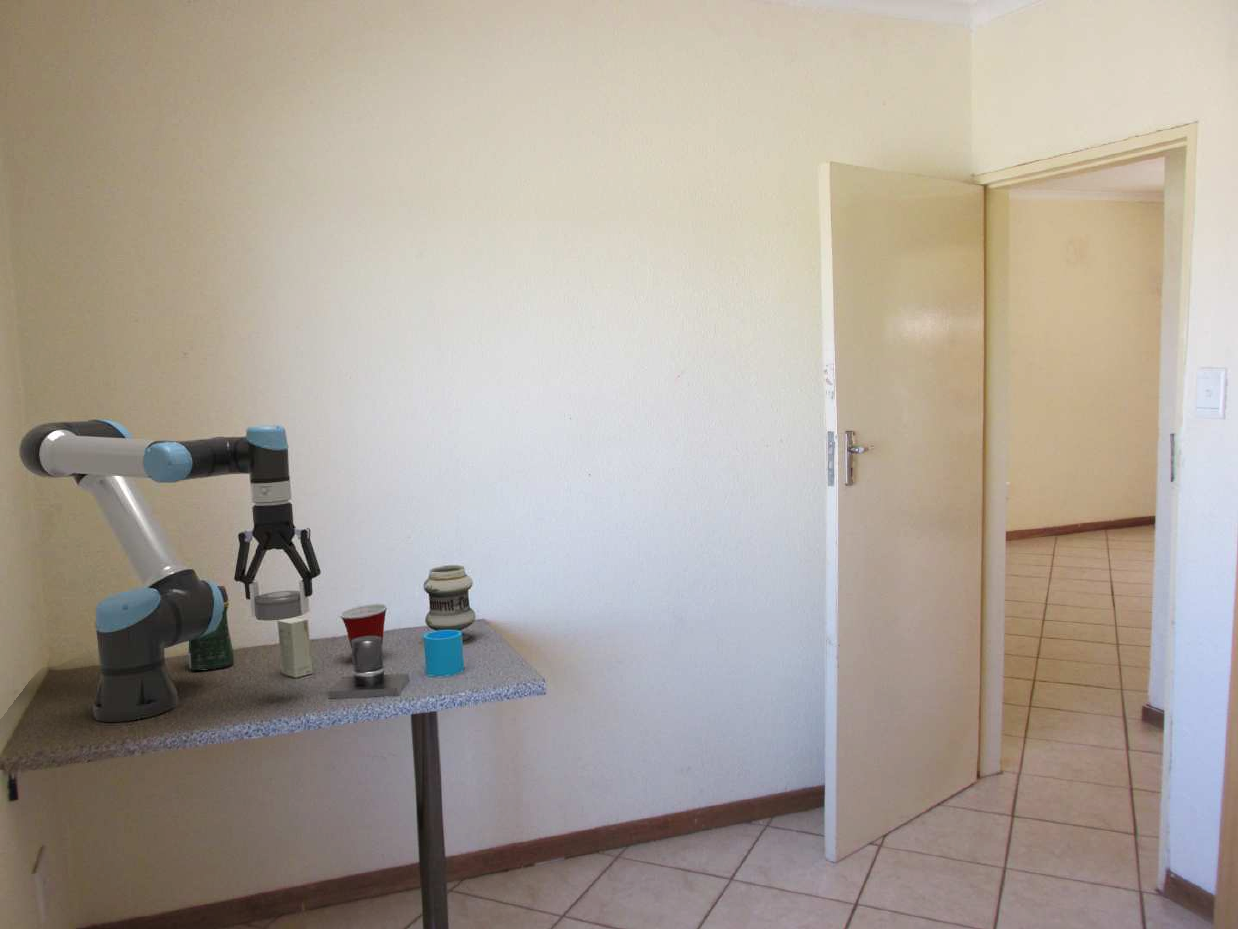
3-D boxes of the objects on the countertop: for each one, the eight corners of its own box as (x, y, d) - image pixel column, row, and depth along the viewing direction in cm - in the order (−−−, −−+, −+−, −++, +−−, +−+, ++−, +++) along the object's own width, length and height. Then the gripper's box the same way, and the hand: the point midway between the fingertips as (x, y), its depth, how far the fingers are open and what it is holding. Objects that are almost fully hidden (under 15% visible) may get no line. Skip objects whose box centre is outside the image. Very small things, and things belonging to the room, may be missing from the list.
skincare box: (313, 673, 215) (309, 619, 214) (295, 678, 212) (291, 623, 211) (299, 669, 219) (294, 615, 218) (280, 674, 216) (276, 619, 215)
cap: (249, 621, 192) (247, 600, 191) (266, 611, 201) (264, 591, 200) (296, 619, 191) (294, 598, 191) (310, 608, 201) (309, 588, 200)
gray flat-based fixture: (328, 698, 196) (324, 647, 195) (343, 683, 206) (339, 634, 205) (397, 695, 196) (394, 644, 195) (409, 680, 206) (406, 632, 205)
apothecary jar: (418, 647, 233) (413, 573, 232) (438, 634, 245) (434, 563, 244) (465, 648, 231) (461, 572, 229) (484, 634, 242) (479, 563, 241)
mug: (464, 674, 209) (462, 637, 208) (426, 678, 207) (423, 641, 207) (462, 660, 220) (460, 624, 220) (426, 663, 219) (423, 627, 218)
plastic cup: (338, 658, 227) (334, 607, 226) (384, 651, 231) (381, 601, 231) (347, 669, 217) (344, 616, 216) (396, 661, 222) (392, 609, 221)
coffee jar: (235, 659, 230) (229, 582, 229) (233, 668, 223) (226, 588, 221) (190, 665, 227) (184, 586, 226) (187, 674, 220) (180, 592, 218)
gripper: (209, 508, 191) (218, 621, 192) (321, 502, 191) (329, 615, 192) (224, 503, 198) (233, 612, 200) (332, 498, 198) (340, 607, 200)
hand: (280, 613), depth 196 cm, fingers closed on cap, 9 cm apart
